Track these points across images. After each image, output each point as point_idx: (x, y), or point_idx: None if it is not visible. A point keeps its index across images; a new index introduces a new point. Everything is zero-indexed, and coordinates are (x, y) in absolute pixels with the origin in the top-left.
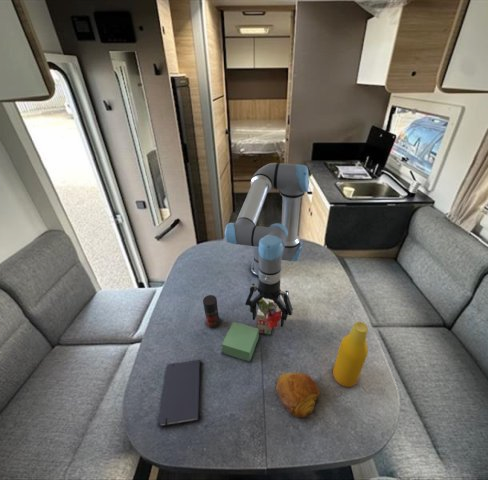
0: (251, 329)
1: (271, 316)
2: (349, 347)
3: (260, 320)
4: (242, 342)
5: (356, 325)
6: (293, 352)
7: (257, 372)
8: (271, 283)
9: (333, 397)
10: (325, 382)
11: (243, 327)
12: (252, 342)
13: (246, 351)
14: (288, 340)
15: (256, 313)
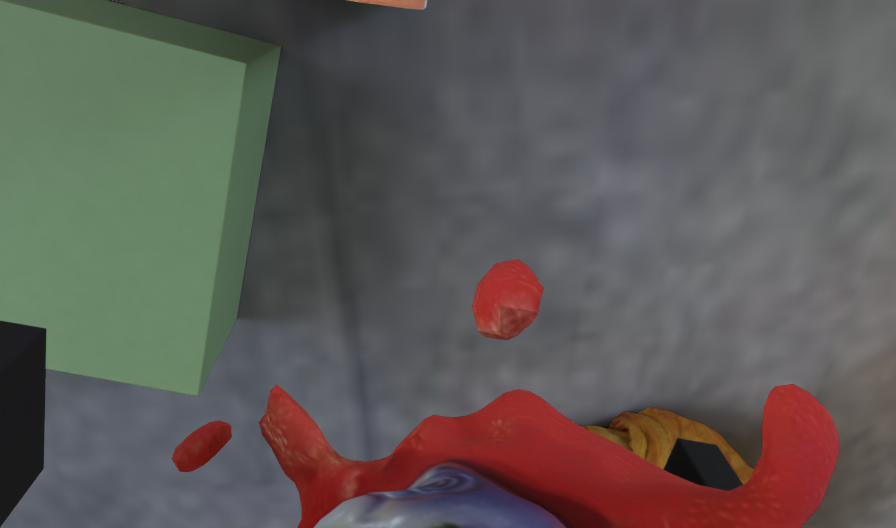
0: (142, 82)
1: None
2: None
3: (187, 459)
4: (79, 288)
5: None
6: (649, 198)
7: (321, 399)
8: None
9: (858, 501)
10: (844, 420)
11: (12, 53)
12: (203, 277)
13: (160, 386)
14: (619, 60)
15: (12, 360)
